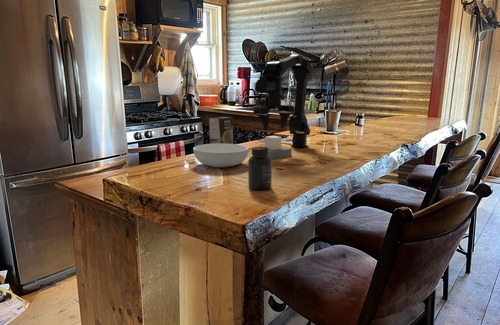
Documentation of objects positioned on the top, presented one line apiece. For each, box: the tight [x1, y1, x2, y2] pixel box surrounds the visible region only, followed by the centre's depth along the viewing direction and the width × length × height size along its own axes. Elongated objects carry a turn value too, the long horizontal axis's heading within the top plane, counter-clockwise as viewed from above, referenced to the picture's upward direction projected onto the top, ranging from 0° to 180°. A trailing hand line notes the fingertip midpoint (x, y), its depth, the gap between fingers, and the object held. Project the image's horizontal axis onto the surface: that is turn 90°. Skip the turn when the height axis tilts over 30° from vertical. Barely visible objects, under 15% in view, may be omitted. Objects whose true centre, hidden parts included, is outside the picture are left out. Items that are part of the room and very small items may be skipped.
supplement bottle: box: [247, 146, 273, 192], centre depth 106 cm, size 7×7×12 cm
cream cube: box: [264, 135, 282, 150], centre depth 155 cm, size 5×5×5 cm
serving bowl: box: [192, 143, 250, 169], centre depth 137 cm, size 21×21×7 cm
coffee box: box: [209, 116, 234, 144], centre depth 157 cm, size 9×6×16 cm
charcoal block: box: [268, 146, 293, 160], centre depth 155 cm, size 11×11×4 cm
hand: (274, 129), depth 155 cm, fingers open, 9 cm apart
